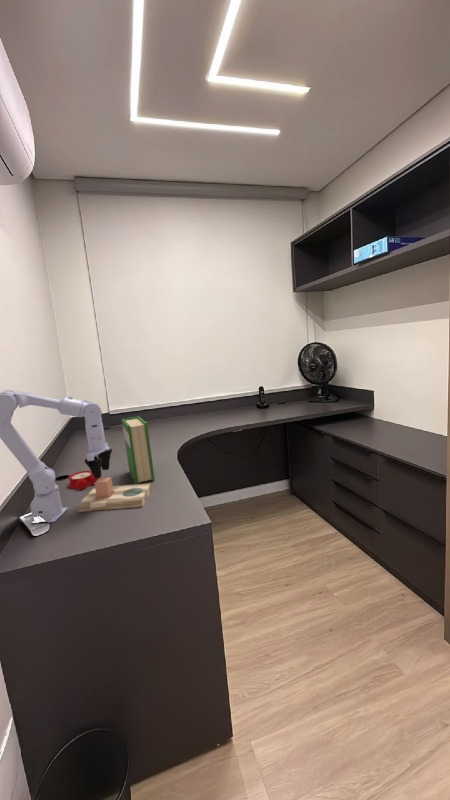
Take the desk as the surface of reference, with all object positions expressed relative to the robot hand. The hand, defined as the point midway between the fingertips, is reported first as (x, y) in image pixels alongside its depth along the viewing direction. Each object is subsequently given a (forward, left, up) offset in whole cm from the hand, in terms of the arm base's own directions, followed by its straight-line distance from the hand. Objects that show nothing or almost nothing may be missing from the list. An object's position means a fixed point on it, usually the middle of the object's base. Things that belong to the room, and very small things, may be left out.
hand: (101, 473), depth 123 cm
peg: (0, 0, -10) cm, 10 cm away
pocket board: (0, -4, -10) cm, 11 cm away
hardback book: (+22, -7, -11) cm, 25 cm away
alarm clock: (+18, +16, -11) cm, 26 cm away
